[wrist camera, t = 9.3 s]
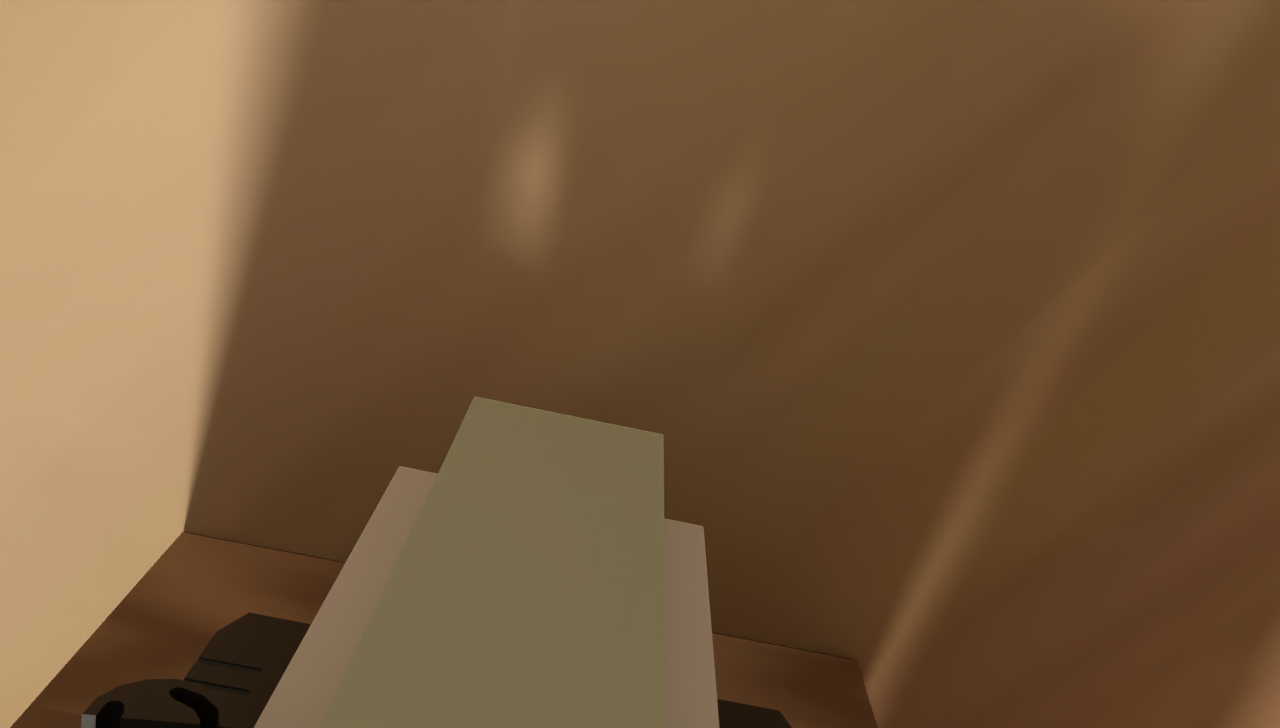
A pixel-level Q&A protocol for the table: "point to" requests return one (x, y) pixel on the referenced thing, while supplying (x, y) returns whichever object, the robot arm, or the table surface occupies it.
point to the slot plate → (523, 585)
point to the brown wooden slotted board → (295, 590)
